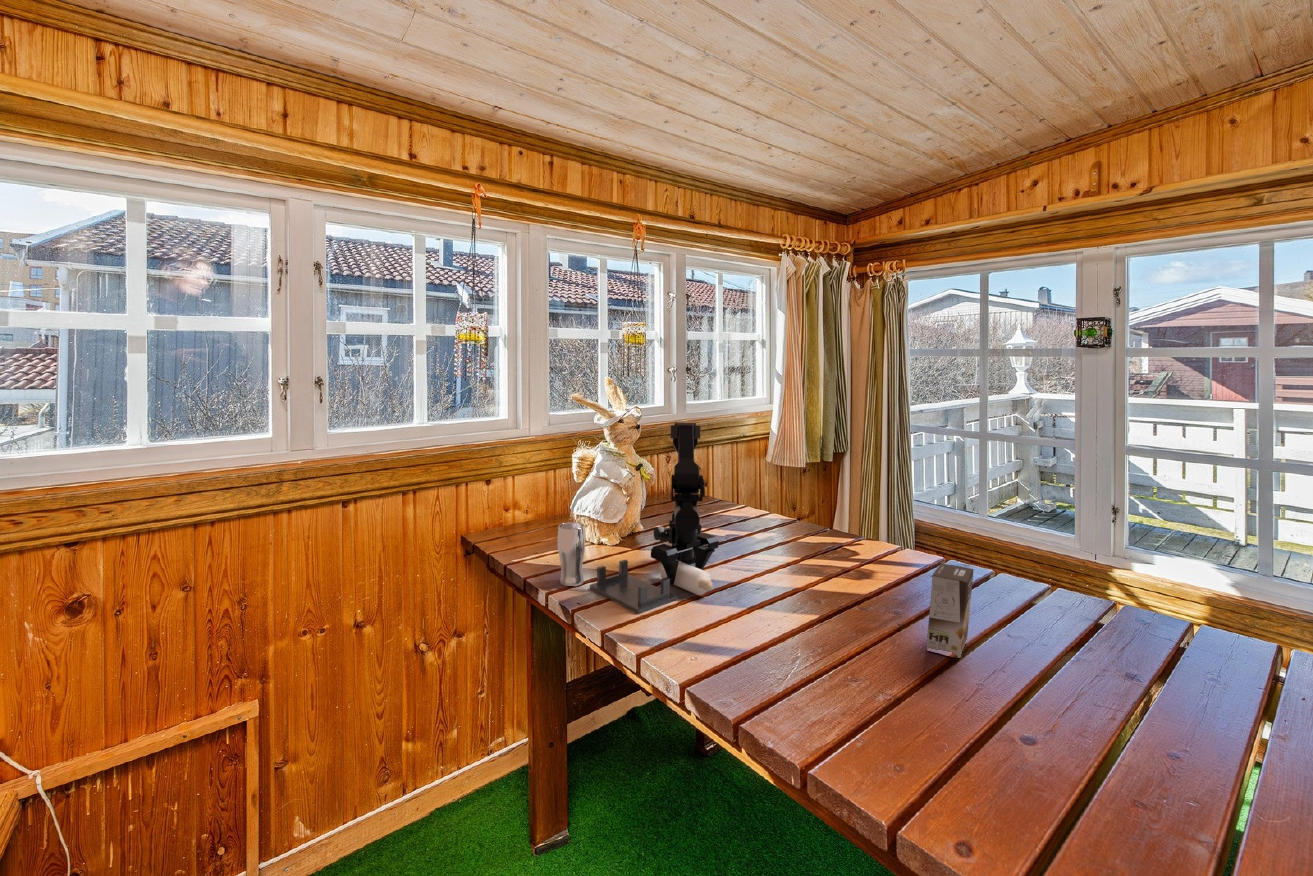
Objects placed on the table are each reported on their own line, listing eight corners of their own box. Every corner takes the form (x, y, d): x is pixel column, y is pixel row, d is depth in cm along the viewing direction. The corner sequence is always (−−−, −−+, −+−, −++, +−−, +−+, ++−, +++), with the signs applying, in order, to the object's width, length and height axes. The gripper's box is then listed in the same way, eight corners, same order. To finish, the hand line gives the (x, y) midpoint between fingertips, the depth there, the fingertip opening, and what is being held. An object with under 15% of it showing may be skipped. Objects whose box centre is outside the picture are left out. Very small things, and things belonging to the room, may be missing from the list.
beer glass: (580, 588, 151) (580, 530, 149) (554, 586, 153) (553, 528, 150) (589, 578, 158) (588, 522, 156) (563, 576, 159) (563, 521, 157)
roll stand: (627, 577, 159) (627, 557, 158) (676, 600, 145) (677, 578, 144) (589, 588, 151) (589, 567, 150) (638, 614, 137) (638, 590, 136)
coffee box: (960, 661, 118) (967, 582, 115) (925, 651, 121) (931, 575, 119) (967, 642, 125) (974, 568, 123) (934, 634, 129) (940, 561, 126)
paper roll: (653, 580, 157) (653, 558, 156) (670, 575, 161) (671, 553, 160) (700, 601, 145) (701, 577, 144) (717, 594, 149) (718, 571, 148)
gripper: (689, 507, 163) (688, 563, 165) (636, 519, 150) (636, 579, 153) (720, 516, 154) (719, 574, 157) (666, 529, 142) (665, 593, 144)
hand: (684, 579), depth 153 cm, fingers open, 9 cm apart
